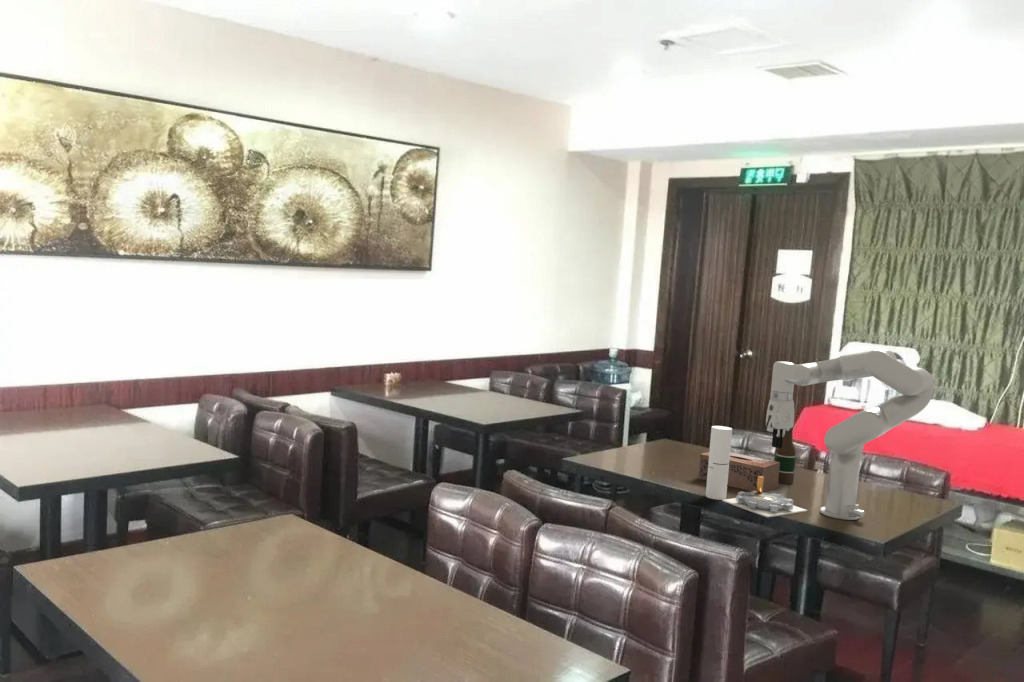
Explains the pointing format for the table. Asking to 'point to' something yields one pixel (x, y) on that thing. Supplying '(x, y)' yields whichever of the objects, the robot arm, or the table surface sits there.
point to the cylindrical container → (718, 462)
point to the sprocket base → (764, 512)
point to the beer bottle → (786, 459)
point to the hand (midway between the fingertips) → (776, 447)
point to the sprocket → (764, 499)
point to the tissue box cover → (746, 471)
